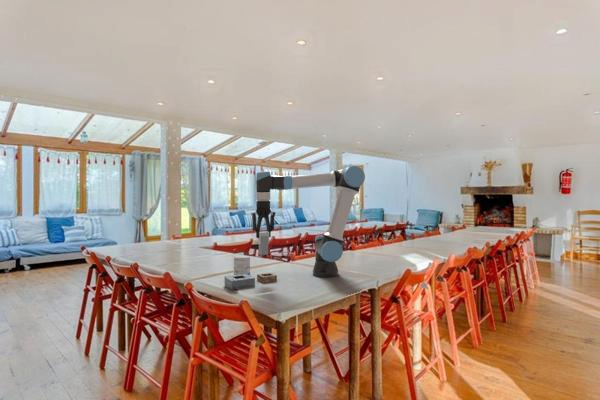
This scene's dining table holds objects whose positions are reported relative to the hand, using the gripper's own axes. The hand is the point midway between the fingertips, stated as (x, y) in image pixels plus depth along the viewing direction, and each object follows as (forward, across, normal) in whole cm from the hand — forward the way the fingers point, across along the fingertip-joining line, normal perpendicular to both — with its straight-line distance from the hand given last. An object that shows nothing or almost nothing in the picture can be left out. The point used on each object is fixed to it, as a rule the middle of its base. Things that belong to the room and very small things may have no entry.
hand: (263, 243), depth 187 cm
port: (+21, +14, +1) cm, 25 cm away
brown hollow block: (+21, -2, 0) cm, 21 cm away
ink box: (+21, +5, -19) cm, 29 cm away
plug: (+6, 0, 0) cm, 6 cm away
